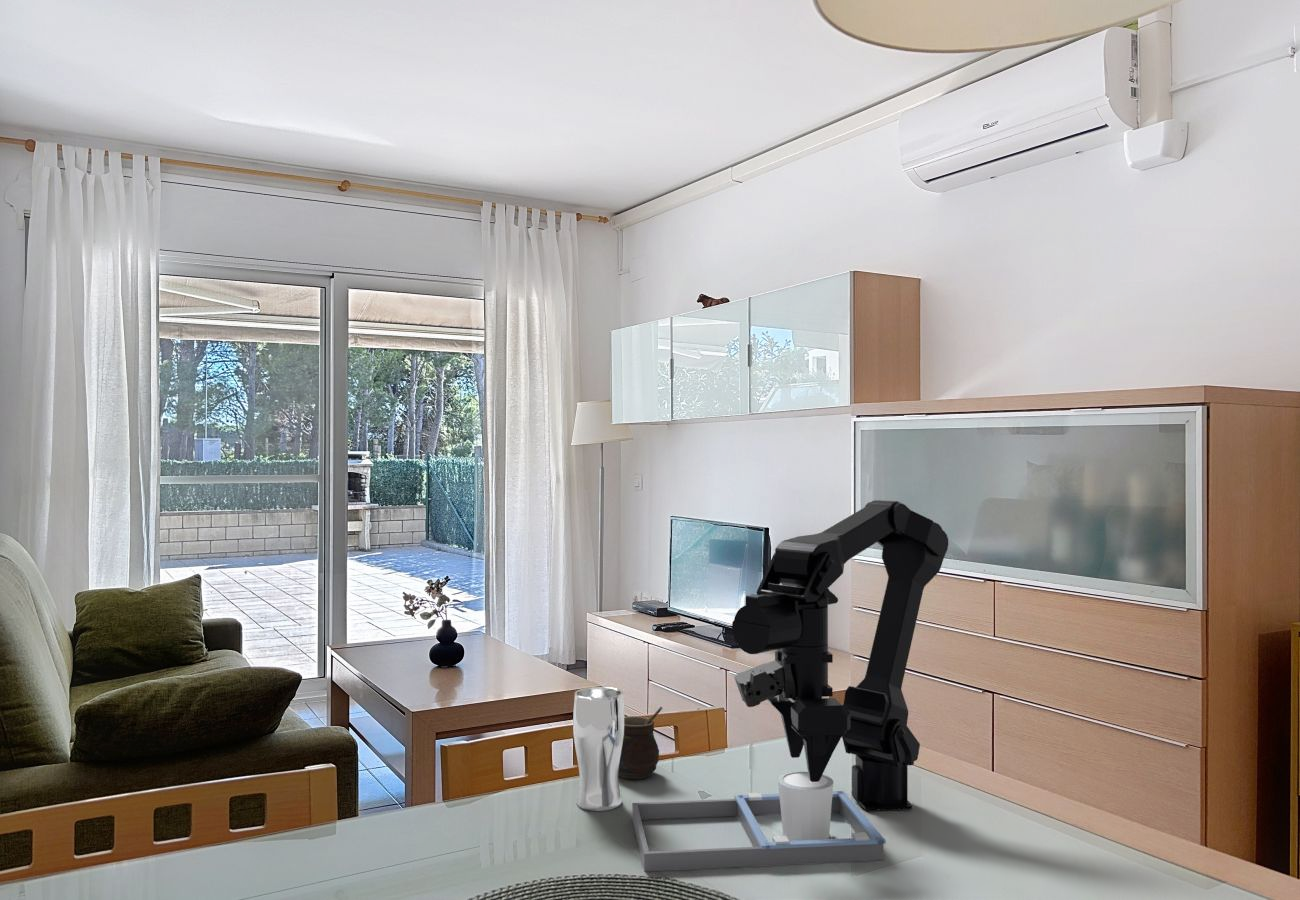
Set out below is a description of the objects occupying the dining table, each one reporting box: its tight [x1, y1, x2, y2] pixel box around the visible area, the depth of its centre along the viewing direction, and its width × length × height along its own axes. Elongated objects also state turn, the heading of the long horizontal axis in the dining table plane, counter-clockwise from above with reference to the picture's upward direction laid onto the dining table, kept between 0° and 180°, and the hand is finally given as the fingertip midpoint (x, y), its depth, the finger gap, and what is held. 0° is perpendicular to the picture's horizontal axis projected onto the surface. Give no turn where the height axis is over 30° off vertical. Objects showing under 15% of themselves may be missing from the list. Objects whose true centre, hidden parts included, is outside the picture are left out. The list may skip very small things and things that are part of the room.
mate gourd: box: [618, 706, 663, 780], centre depth 144 cm, size 7×8×10 cm
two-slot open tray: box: [631, 790, 887, 872], centre depth 121 cm, size 28×16×3 cm, turn 96°
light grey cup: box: [777, 770, 834, 841], centre depth 122 cm, size 7×7×7 cm
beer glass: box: [572, 686, 625, 812], centre depth 133 cm, size 7×7×15 cm
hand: (804, 768), depth 121 cm, fingers open, 9 cm apart
